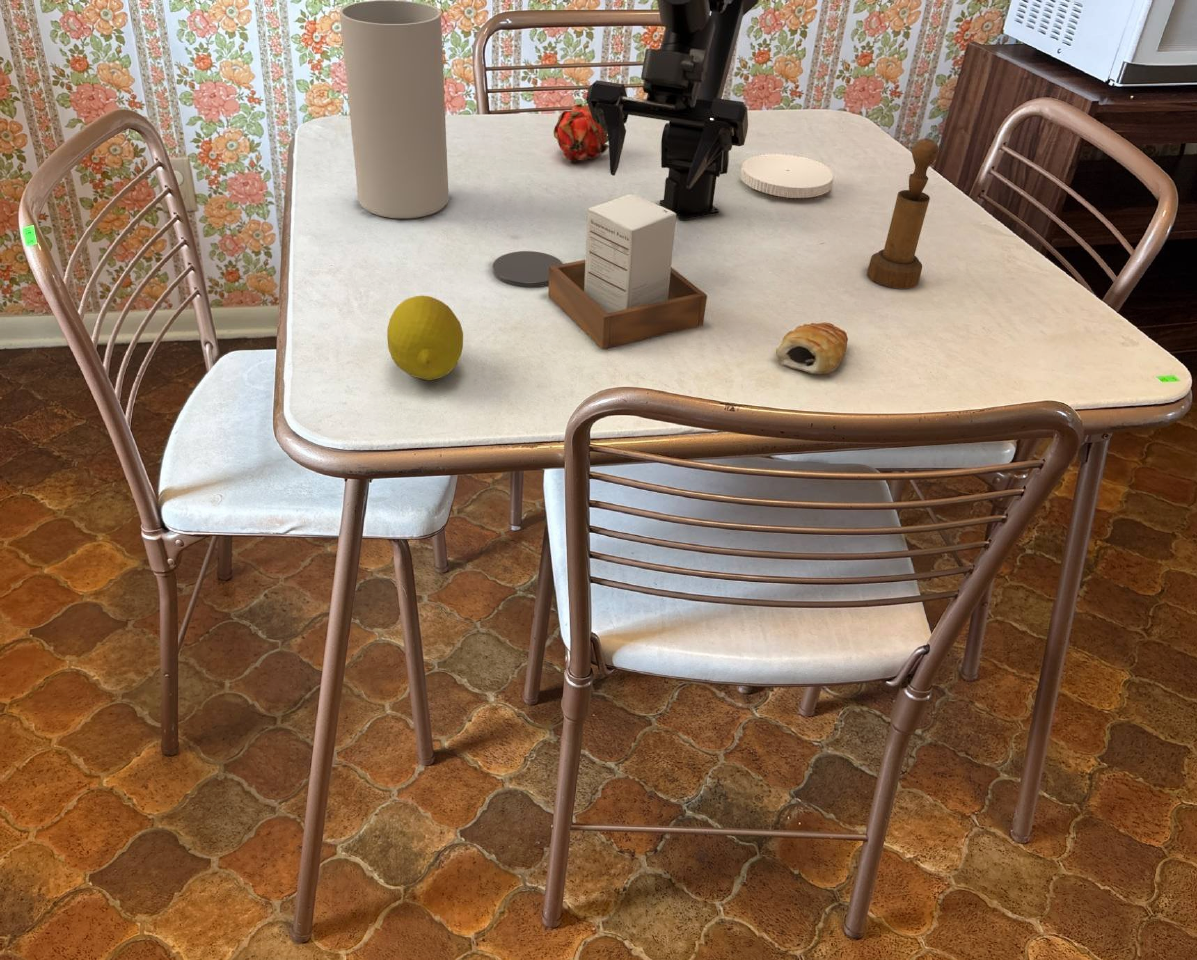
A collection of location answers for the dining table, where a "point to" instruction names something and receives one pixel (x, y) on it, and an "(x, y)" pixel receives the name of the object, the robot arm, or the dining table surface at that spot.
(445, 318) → the lemon
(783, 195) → the plastic lid
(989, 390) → the dining table surface
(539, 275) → the slate coaster
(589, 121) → the dragon fruit
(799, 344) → the pastry
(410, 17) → the cylinder vase
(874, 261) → the mortar and pestle
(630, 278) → the white packaging box
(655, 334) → the brown square shallow frame
